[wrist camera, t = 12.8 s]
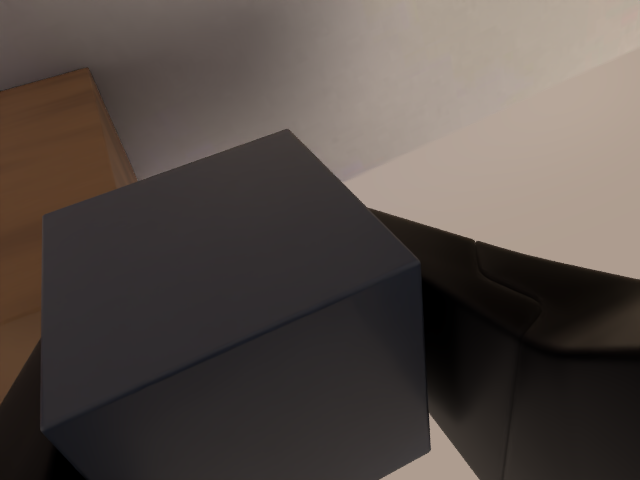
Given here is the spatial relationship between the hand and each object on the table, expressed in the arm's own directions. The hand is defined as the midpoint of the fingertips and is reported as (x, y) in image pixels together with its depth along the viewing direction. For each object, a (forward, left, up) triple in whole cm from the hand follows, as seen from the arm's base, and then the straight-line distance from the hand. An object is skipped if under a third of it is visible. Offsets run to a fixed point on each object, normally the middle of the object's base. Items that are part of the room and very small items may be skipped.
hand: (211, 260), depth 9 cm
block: (0, 0, 0) cm, 0 cm away
